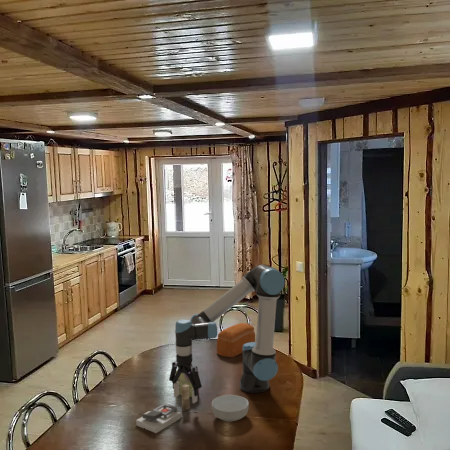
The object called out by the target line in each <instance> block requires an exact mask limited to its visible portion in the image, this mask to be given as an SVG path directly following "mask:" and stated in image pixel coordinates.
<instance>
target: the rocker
mask: <svg viewBox="0 0 450 450" xmlns="http://www.w3.org/2000/svg"><path fill="white" fill-rule="evenodd" d="M161 416H163V415H162V412H157V411H152V410H148V411H147V412H144V413H143V414H142V415H141V417H143V418H144V419H153V420H156V419H158V418H159V417H161Z"/></svg>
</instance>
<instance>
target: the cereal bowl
mask: <svg viewBox="0 0 450 450" xmlns="http://www.w3.org/2000/svg"><path fill="white" fill-rule="evenodd" d="M249 408H250V405H249V400H248V398H245V397H244V396H241V395H236V394H223V395H220V396H217V397H215V398H213V400H212V401H211V410H212V413H213V415H214V416H215V417H216V418H218V419H219V420H221V421H224V422H235V421H238V420H239V421H240V420H241V419H243V418H244V417H245V416H246V415H247V413H248V411H249Z"/></svg>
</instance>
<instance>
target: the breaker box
mask: <svg viewBox="0 0 450 450" xmlns="http://www.w3.org/2000/svg"><path fill="white" fill-rule="evenodd" d="M162 409H169V411H167V412H166V413H165V412H162V411H161V410H162ZM178 409H179V408H178V407H177V406H173V405H171V404H167V403H162V404H160V405H159V406H157V407H155V408H153V409H152V410H151V411H157V412H162V415H164V416H161V417H159V418H158V419H156V420H153V419H144V418H143V417H142V416H141V417H139V418H137V419H136V426H137V427H140V428H142V429H144V428H145V430H147V431H150V432H152V433H155V434H157V433H159V432H161V431H162V430H163V429H166V428H167V427H169V426H170V425H172V424H173V423H175V422H177V421H179V420H180V419H182V412H180V411H178ZM169 413H170V414H169ZM168 414H169V415H168Z"/></svg>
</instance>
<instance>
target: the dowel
mask: <svg viewBox="0 0 450 450" xmlns="http://www.w3.org/2000/svg"><path fill="white" fill-rule="evenodd" d="M181 394H182V395H181V410H182V411H189V410H190V408H191V407H190V406H191V405H190V397H189V385H182V386H181Z"/></svg>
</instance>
